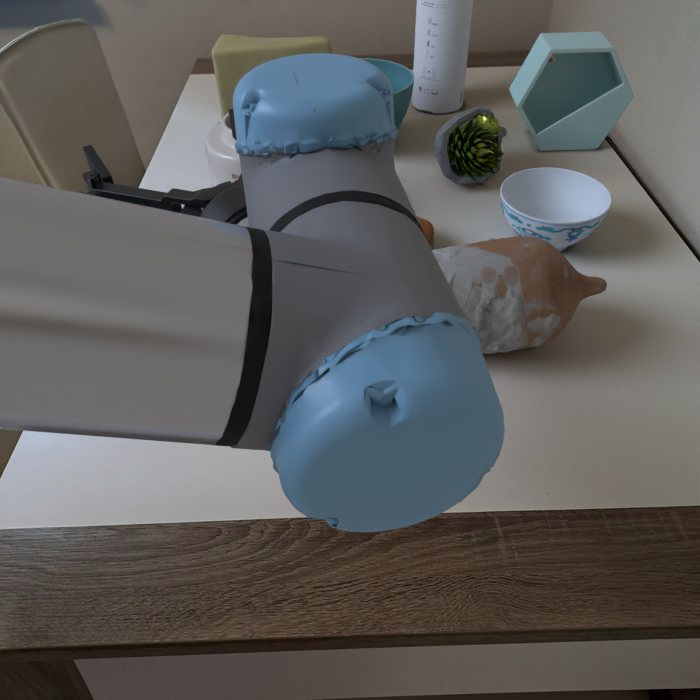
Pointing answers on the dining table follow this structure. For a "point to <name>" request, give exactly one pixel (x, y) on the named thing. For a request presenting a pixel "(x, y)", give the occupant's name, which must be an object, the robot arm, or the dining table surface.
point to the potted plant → (470, 146)
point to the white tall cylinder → (441, 54)
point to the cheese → (255, 58)
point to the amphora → (515, 290)
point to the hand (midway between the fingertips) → (165, 140)
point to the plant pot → (397, 86)
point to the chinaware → (554, 204)
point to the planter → (571, 90)
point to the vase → (222, 153)
